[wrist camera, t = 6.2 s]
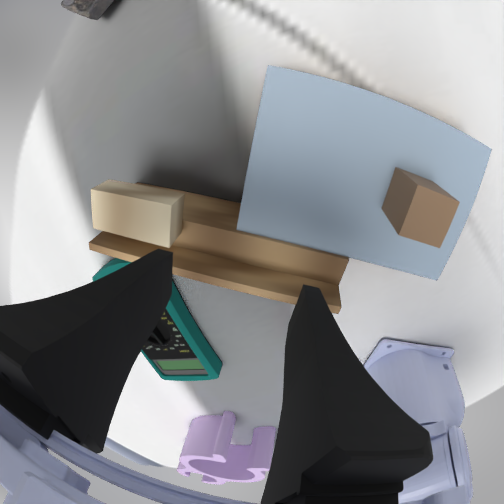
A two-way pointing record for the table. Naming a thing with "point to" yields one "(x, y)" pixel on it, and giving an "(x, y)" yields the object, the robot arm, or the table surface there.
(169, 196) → the cream rectangular block
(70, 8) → the pipe
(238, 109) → the table surface
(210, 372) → the digital multimeter
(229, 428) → the clip
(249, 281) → the toolbox
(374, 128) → the lid
